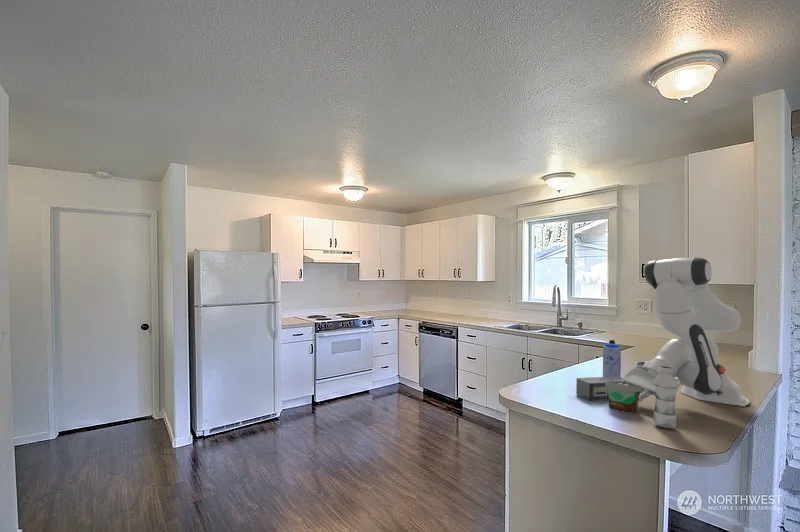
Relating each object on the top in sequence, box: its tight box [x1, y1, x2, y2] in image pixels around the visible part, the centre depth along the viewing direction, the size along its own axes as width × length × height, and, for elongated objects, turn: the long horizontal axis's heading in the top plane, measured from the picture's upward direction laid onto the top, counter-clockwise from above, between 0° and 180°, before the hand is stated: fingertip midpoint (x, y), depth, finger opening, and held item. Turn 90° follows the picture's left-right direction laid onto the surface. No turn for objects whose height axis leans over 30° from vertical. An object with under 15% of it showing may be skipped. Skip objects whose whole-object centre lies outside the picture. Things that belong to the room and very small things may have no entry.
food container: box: [605, 380, 642, 413], centre depth 147 cm, size 12×6×10 cm, turn 47°
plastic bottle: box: [652, 366, 678, 430], centre depth 131 cm, size 6×7×20 cm
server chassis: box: [575, 376, 626, 402], centre depth 162 cm, size 20×8×7 cm, turn 102°
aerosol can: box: [602, 339, 622, 378], centre depth 184 cm, size 8×8×20 cm
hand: (636, 399), depth 148 cm, fingers closed
